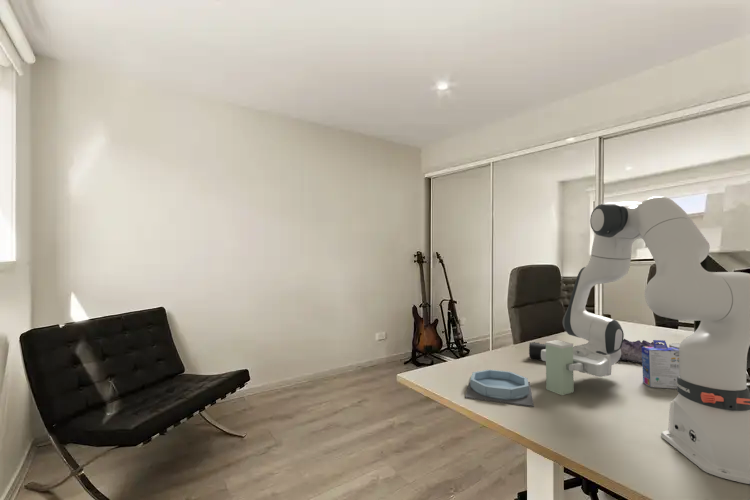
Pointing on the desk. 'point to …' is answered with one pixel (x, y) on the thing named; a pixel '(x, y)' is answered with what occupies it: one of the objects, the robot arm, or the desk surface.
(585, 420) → the desk surface
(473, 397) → the mat
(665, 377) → the ink cartridge box
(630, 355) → the geode
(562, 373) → the tea tin
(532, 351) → the end cap
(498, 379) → the bowl
